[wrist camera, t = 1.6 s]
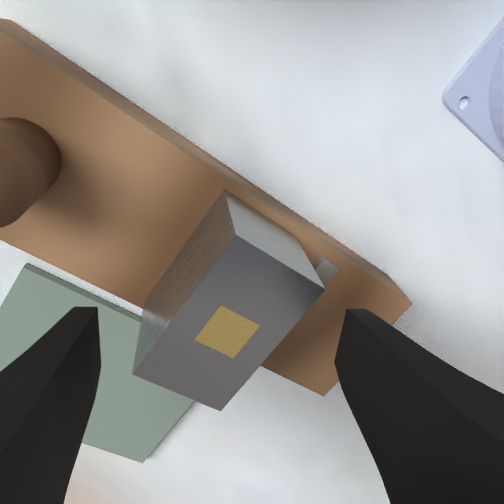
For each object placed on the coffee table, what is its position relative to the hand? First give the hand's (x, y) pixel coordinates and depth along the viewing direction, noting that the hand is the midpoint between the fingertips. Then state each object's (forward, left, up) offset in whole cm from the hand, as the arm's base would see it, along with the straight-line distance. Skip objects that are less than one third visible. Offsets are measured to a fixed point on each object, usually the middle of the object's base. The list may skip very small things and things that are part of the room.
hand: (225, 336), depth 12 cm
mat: (+1, +9, -7) cm, 11 cm away
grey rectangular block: (0, 0, -4) cm, 4 cm away
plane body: (+1, 0, -7) cm, 7 cm away
